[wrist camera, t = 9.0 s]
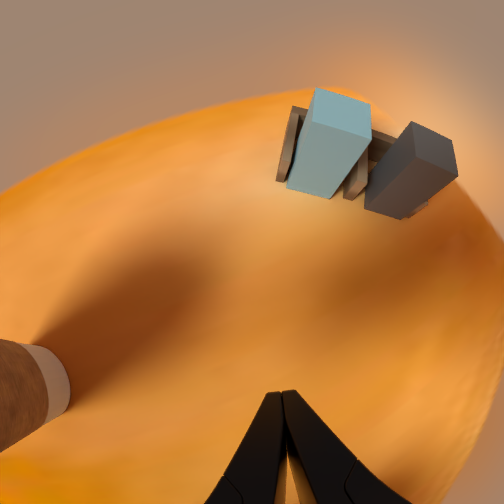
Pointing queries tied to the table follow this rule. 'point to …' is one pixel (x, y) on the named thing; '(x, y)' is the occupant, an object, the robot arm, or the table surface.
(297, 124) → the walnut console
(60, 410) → the coffee cup
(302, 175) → the pale blue tall block
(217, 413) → the table surface
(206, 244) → the table surface
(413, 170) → the dark gray block
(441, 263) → the table surface
